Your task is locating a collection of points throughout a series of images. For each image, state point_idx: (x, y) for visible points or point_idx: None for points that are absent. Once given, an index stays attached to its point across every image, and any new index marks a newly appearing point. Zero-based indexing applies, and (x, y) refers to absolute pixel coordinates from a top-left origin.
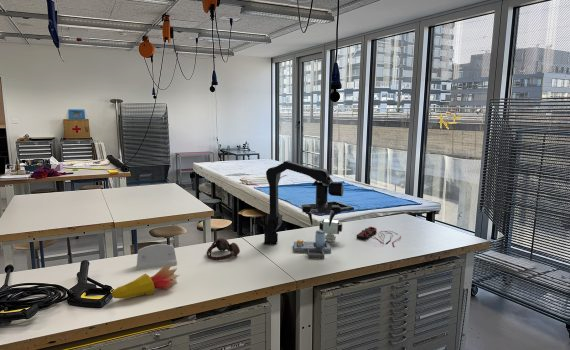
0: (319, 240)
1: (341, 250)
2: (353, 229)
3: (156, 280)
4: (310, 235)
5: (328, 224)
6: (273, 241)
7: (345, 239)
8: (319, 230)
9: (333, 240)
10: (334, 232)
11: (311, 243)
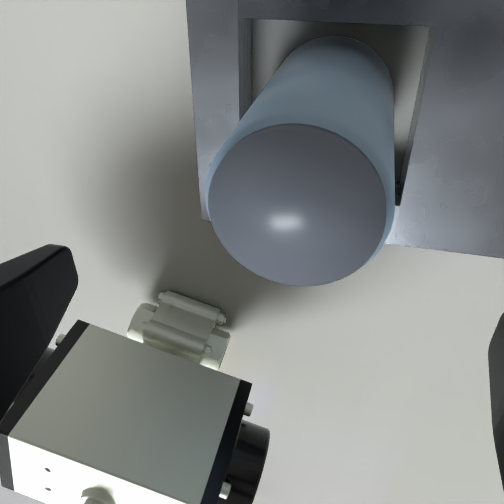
0: (341, 76)
1: (80, 41)
2: None
3: None
4: (346, 440)
5: (143, 449)
6: None
7: (68, 325)
8: (301, 277)
9: (158, 297)
10: (112, 345)
11: (429, 186)
